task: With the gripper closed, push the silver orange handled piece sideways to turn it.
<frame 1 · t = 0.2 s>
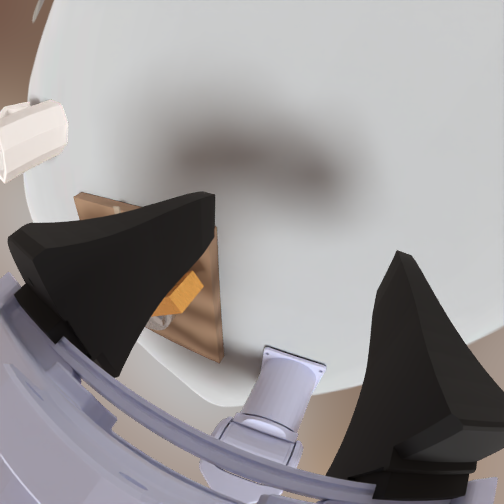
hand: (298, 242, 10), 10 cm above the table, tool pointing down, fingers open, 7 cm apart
mug: (51, 119, 26), on the table
silver orange handled piece: (141, 296, 29), point 5 cm above the table, hinge at 0.0°
base plate: (149, 278, 34), on the table
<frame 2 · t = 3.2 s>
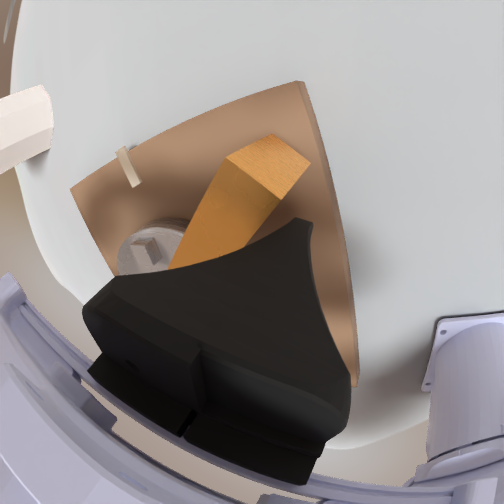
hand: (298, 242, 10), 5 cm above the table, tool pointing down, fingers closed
mug: (35, 115, 20), on the table
silver orange handled piece: (189, 290, 15), point 5 cm above the table, hinge at 3.4°, touching gripper
base plate: (205, 276, 21), on the table
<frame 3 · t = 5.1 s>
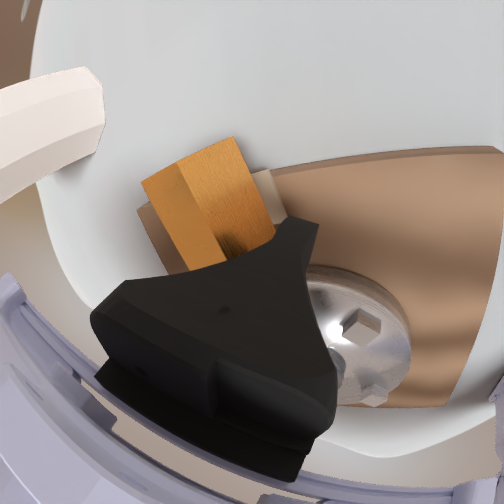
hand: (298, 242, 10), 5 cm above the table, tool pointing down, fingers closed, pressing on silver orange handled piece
mug: (70, 108, 17), on the table
silver orange handled piece: (292, 332, 13), point 5 cm above the table, hinge at 61.1°, touching gripper
base plate: (327, 319, 18), on the table
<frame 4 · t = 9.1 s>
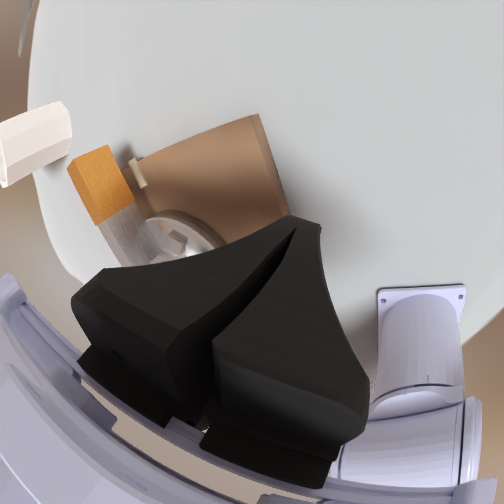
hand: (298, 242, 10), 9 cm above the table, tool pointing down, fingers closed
mug: (53, 125, 26), on the table
silver orange handled piece: (147, 249, 22), point 5 cm above the table, hinge at 61.7°
base plate: (195, 256, 27), on the table
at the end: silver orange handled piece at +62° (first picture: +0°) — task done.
